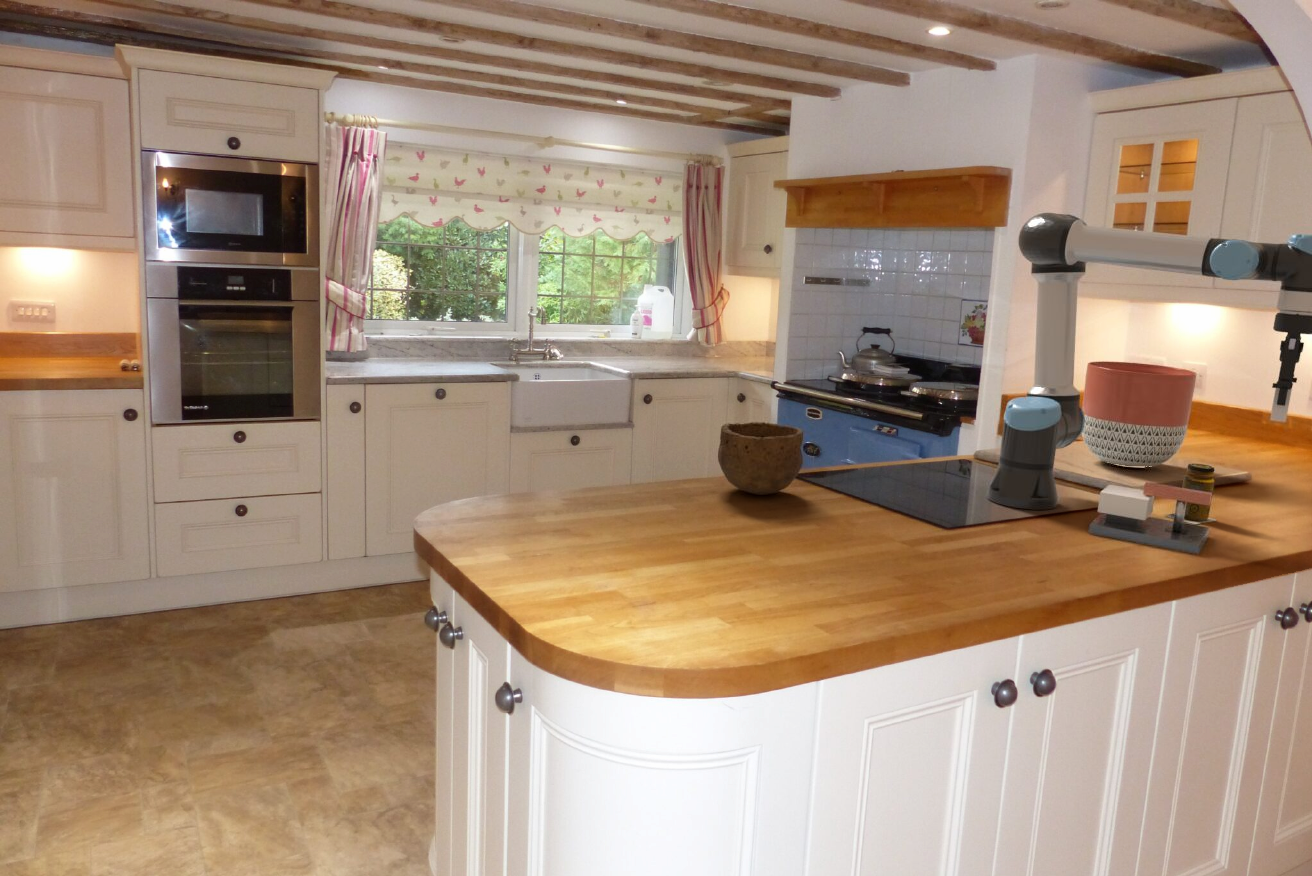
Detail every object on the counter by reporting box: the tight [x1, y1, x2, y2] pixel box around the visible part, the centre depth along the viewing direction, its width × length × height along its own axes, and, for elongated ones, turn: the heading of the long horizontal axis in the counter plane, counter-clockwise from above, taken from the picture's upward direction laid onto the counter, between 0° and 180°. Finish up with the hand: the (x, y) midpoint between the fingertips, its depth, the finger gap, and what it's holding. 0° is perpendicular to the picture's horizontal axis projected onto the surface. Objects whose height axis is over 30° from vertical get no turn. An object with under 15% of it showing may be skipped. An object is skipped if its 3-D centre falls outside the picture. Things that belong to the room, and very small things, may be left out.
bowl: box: [717, 421, 804, 496], centre depth 224 cm, size 19×19×15 cm
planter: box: [1081, 360, 1197, 467], centre depth 273 cm, size 27×27×27 cm
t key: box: [1143, 481, 1213, 531], centre depth 204 cm, size 12×2×8 cm, turn 56°
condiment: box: [1164, 462, 1216, 525], centre depth 221 cm, size 7×8×12 cm
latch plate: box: [1088, 512, 1210, 556], centre depth 206 cm, size 20×16×7 cm
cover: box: [1097, 484, 1156, 520], centre depth 209 cm, size 9×9×4 cm
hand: (1278, 417), depth 206 cm, fingers open, 13 cm apart
